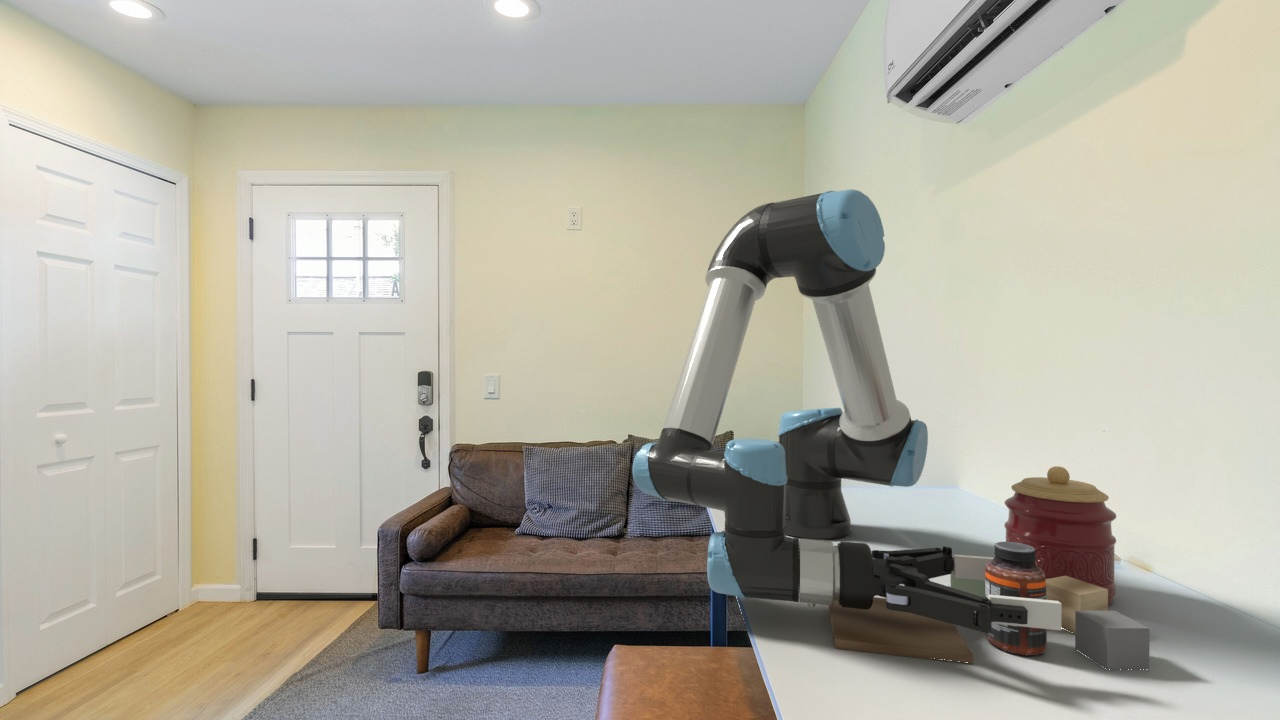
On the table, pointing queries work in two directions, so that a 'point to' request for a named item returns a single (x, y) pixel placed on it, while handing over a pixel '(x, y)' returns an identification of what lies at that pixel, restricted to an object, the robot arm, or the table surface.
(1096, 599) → the beech block
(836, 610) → the plate
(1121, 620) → the grey block
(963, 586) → the sage block
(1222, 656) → the table surface
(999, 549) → the supplement bottle
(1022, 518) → the canister
